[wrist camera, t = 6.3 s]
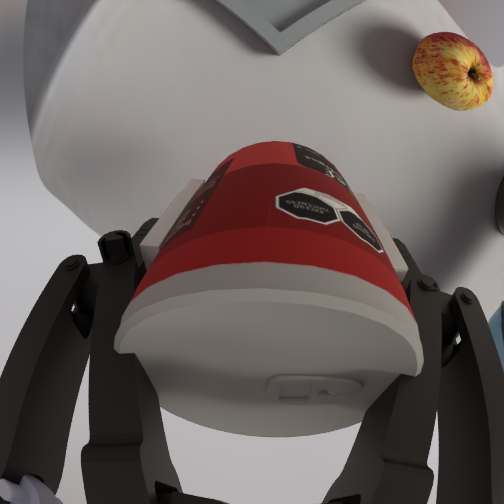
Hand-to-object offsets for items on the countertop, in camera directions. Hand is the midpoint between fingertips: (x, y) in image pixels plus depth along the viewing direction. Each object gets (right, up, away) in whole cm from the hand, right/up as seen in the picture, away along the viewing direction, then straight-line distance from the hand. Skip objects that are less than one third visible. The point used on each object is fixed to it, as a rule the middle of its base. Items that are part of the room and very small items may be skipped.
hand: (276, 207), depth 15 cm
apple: (+20, +19, +7) cm, 29 cm away
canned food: (0, 0, 0) cm, 1 cm away
